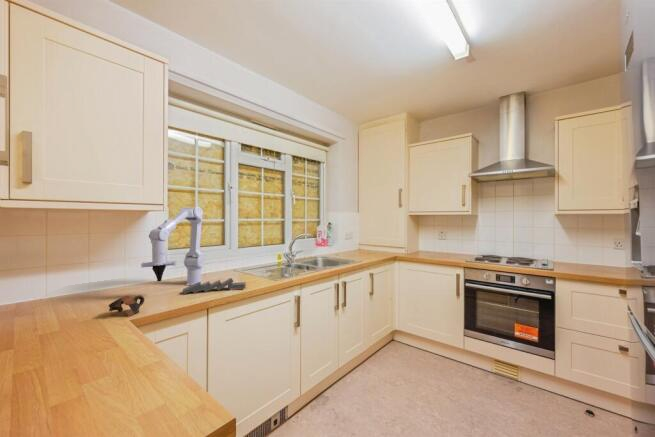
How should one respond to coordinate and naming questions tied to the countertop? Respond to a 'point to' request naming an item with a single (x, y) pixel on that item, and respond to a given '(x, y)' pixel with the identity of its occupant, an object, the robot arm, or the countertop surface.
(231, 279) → the domino
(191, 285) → the domino
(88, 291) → the countertop surface
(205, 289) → the domino
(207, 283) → the domino
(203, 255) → the robot arm
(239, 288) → the domino
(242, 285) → the domino
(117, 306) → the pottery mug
